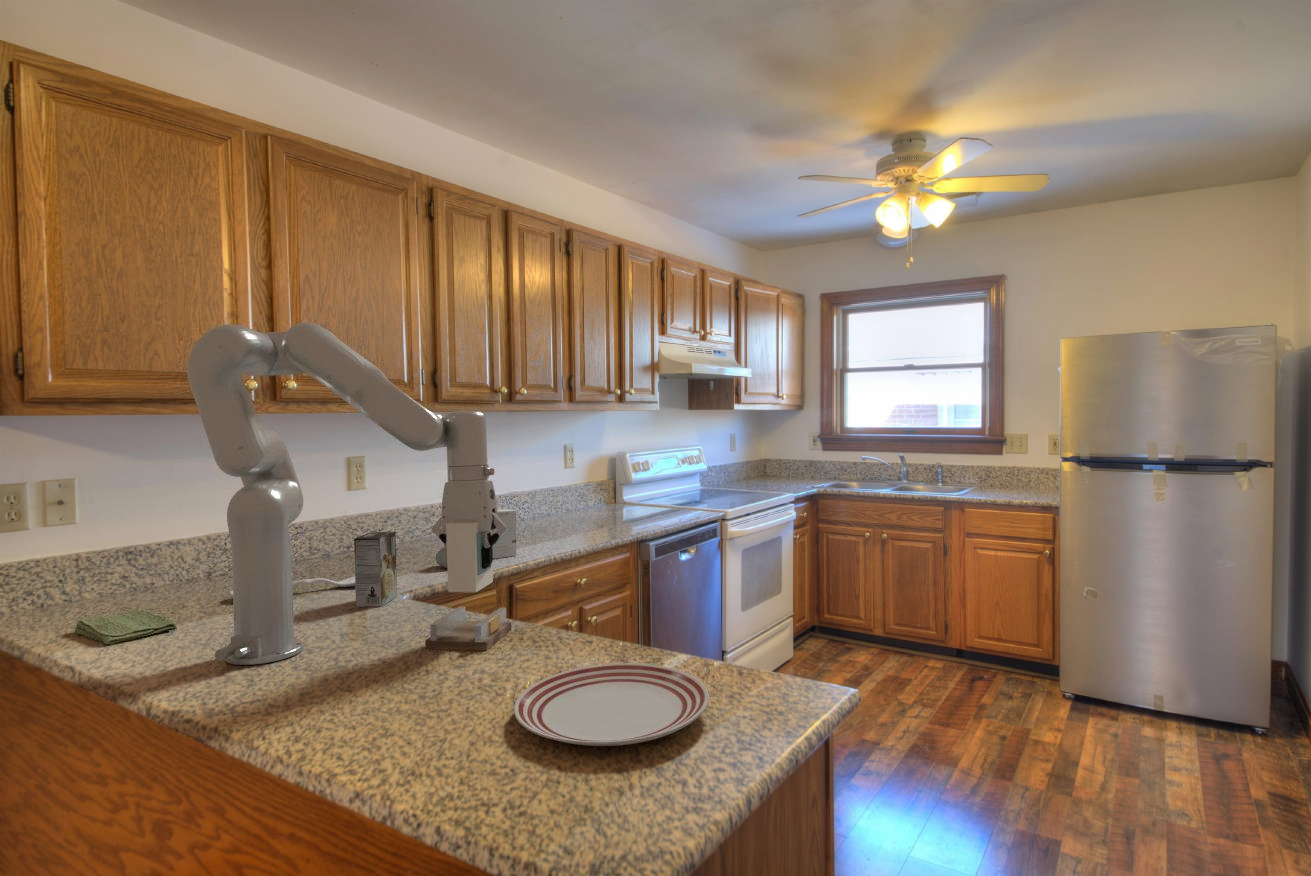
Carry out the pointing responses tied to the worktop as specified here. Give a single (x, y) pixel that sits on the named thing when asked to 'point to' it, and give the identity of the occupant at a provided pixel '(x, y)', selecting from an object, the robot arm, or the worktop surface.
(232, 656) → the robot arm
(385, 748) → the worktop surface
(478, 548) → the carton
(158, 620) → the washcloth
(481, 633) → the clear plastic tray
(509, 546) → the skincare box
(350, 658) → the worktop surface
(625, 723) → the dinner plate
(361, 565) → the coffee box
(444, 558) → the air freshener
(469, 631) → the napkin stand
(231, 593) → the spoon
